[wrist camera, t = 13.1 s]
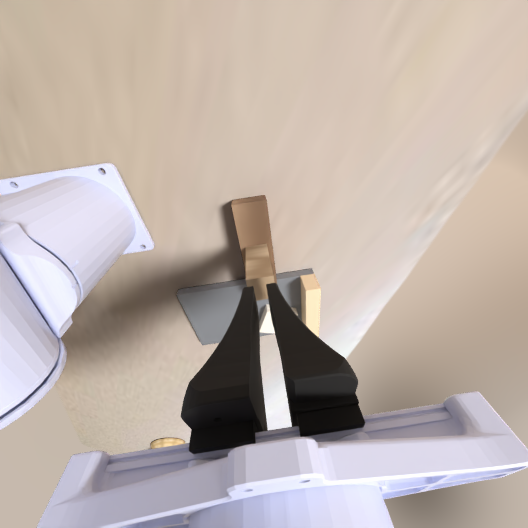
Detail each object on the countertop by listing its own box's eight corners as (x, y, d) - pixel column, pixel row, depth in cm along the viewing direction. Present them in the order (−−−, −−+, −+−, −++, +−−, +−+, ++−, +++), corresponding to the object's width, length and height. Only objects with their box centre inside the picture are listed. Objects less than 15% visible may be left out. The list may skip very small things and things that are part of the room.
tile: (258, 324, 29) (259, 332, 28) (266, 304, 26) (267, 311, 25) (286, 327, 29) (287, 334, 29) (295, 307, 27) (297, 314, 26)
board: (203, 339, 31) (199, 361, 28) (178, 289, 25) (170, 311, 22) (311, 322, 31) (318, 343, 28) (311, 268, 25) (320, 288, 22)
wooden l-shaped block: (250, 286, 24) (252, 338, 18) (232, 199, 19) (226, 228, 13) (275, 282, 24) (287, 333, 18) (264, 194, 19) (274, 220, 13)
